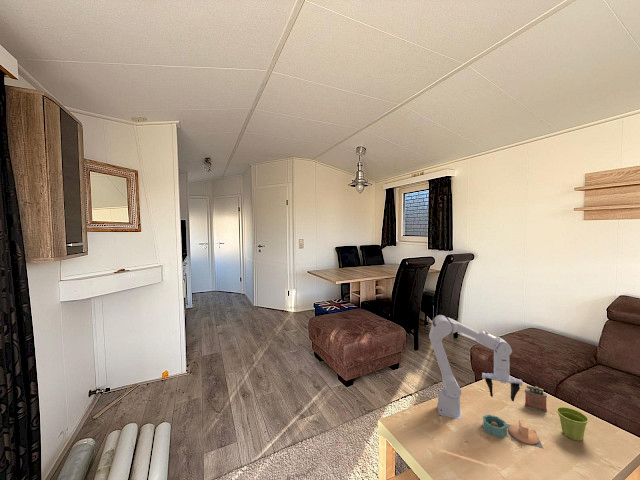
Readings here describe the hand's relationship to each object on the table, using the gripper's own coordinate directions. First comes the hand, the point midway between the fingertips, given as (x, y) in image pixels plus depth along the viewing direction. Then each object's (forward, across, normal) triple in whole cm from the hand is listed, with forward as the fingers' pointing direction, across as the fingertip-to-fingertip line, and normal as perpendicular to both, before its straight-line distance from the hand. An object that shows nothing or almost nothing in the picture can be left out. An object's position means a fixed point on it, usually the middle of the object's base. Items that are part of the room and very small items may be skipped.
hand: (501, 397), depth 115 cm
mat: (+10, +6, -8) cm, 14 cm away
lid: (+9, +6, -8) cm, 14 cm away
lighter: (+10, +16, +16) cm, 25 cm away
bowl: (+10, -4, -9) cm, 14 cm away
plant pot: (+10, +24, +1) cm, 26 cm away
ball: (+9, -4, -9) cm, 14 cm away
